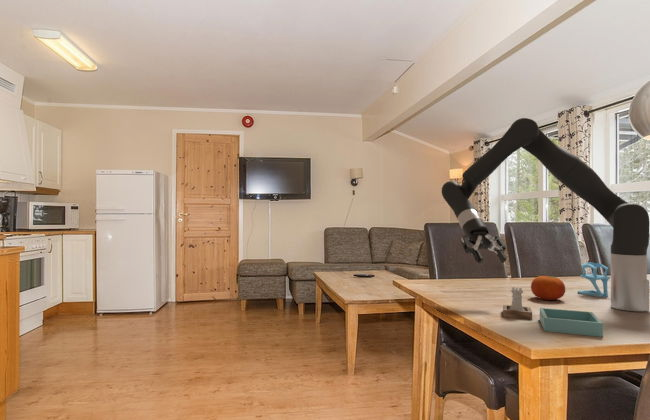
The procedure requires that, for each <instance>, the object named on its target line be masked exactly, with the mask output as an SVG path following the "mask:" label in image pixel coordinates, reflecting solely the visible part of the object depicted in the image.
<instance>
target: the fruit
mask: <svg viewBox="0 0 650 420" xmlns="http://www.w3.org/2000/svg"><path fill="white" fill-rule="evenodd" d="M530 289H531V293H532V294H533V295H534V297H536V298H538V299H540V300H544V301H556V300H559V299H561V298H562V297H564V296H565V293H566V286H565V283H564V282H563V280H562V279H560V278H559V277H555V276H551V275H550V276H549V275H539V276H537V277H535V278H534V279H533V280H532V281H531V283H530Z"/></svg>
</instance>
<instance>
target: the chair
mask: <svg viewBox="0 0 650 420" xmlns="http://www.w3.org/2000/svg"><path fill="white" fill-rule="evenodd" d="M581 268H582V274H580V278H583V279H586V280H588V281H589V282H590V283H591V284H592V286H593V287H594V289H593V290H592V289H591V290H589V289H587V290H577V292H576V293H577V294H579V295H586V296H592V297H598V298H604V297H605V298H608V297H609V293H608V292H609V291H608V290H609V289H608V281H609V280H611V276H608V271H609V267H607V266H606V265H605V264H602V263H600V262H599V263H598V262H596V263H595V262H591V261H588V262H585V263H583V264H582V265H581ZM586 268H587V269H588V268H590V269H592V273H590V274H586V273H587V271H586ZM598 268H603V269H604V270H605V271H604V272H603V275H600V274H598V273H597V271H598ZM600 280H601V282H602V289H603V292H602V291H601V289H600V288H599V286H598V283H597V281H600Z"/></svg>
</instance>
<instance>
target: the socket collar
mask: <svg viewBox="0 0 650 420" xmlns="http://www.w3.org/2000/svg"><path fill="white" fill-rule="evenodd" d="M511 305H512V304H511ZM511 305H510V304H509V305H508V304H502V317H503V318H512V319H522V320H523V319H524V320H533V311H532V308H531V306H523V305H522V306H523V309H524V310H525V311H519V310H509V309H510V307H511Z"/></svg>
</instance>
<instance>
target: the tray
mask: <svg viewBox="0 0 650 420" xmlns="http://www.w3.org/2000/svg"><path fill="white" fill-rule="evenodd" d="M539 322H540V323H541V326H542V329H543V331H544V332H552V333H559V334H561V333H562V334H570V335H572V334H573V335H580V336H590V337H600V338H603V337H604V323H603V321H601V320H600V319H599V318H598V317H597V315H595V313H594V312H593V311H585V310H584V311H581V310H571V309H561V308H560V309H559V308H549V307H547V308H546V307H539Z"/></svg>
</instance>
